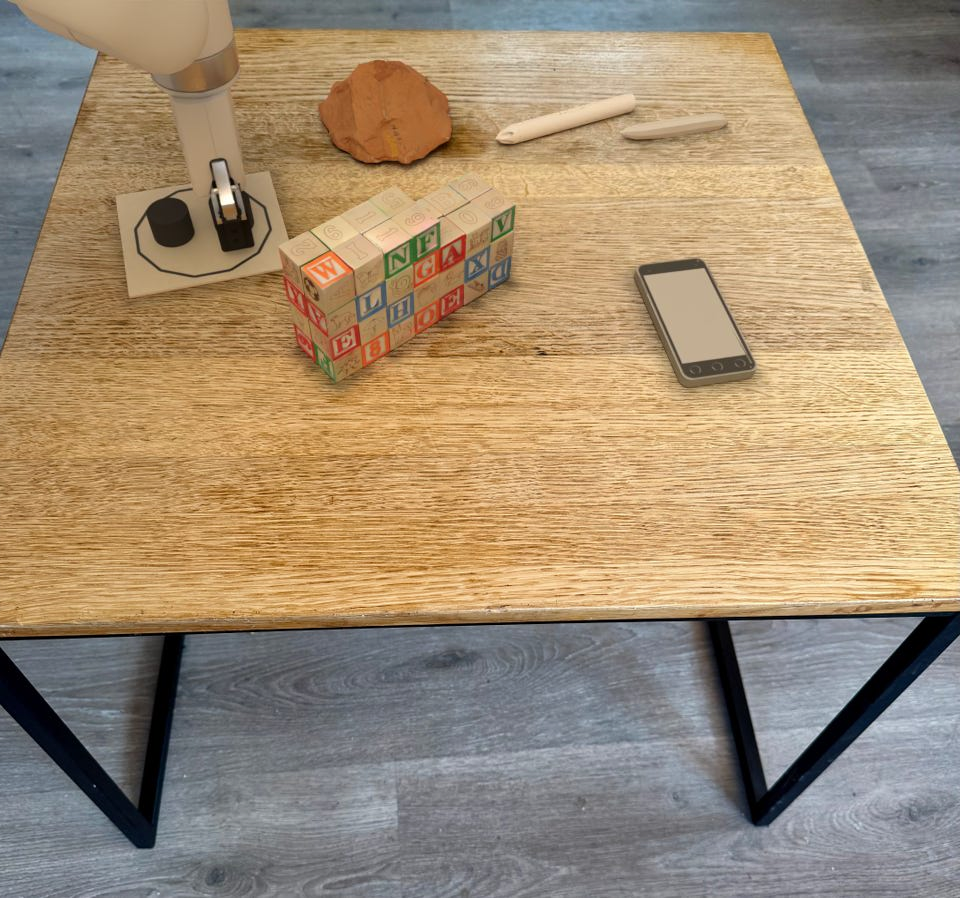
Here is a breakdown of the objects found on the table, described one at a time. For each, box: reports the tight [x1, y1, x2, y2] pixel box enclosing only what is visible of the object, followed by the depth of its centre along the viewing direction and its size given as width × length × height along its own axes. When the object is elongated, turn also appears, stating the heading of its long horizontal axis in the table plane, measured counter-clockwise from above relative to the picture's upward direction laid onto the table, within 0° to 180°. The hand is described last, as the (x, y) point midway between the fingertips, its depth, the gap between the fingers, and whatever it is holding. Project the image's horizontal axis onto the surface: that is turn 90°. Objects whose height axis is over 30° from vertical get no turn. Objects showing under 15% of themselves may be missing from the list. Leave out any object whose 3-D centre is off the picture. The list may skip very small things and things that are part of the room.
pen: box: [618, 112, 729, 140], centre depth 101 cm, size 2×14×2 cm, turn 107°
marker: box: [495, 92, 637, 145], centre depth 100 cm, size 18×2×2 cm, turn 116°
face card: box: [114, 170, 290, 299], centre depth 89 cm, size 16×15×1 cm
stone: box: [317, 59, 453, 165], centre depth 97 cm, size 15×15×10 cm
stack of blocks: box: [279, 171, 516, 383], centre depth 79 cm, size 21×6×12 cm, turn 131°
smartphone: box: [633, 257, 758, 388], centre depth 84 cm, size 7×1×15 cm
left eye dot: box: [146, 198, 195, 248], centre depth 87 cm, size 4×4×3 cm
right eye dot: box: [208, 189, 254, 231], centre depth 88 cm, size 4×4×3 cm
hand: (230, 215), depth 88 cm, fingers open, 9 cm apart
